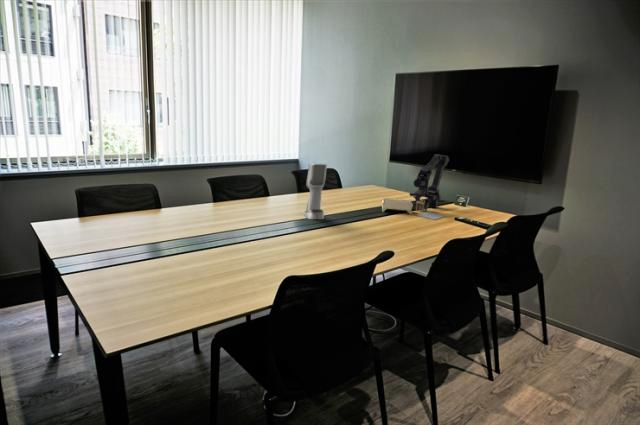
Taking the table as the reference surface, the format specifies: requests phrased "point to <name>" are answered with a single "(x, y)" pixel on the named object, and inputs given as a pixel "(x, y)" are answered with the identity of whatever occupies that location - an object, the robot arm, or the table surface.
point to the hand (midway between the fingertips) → (421, 207)
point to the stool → (421, 203)
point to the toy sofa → (397, 204)
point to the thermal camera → (315, 190)
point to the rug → (431, 215)
